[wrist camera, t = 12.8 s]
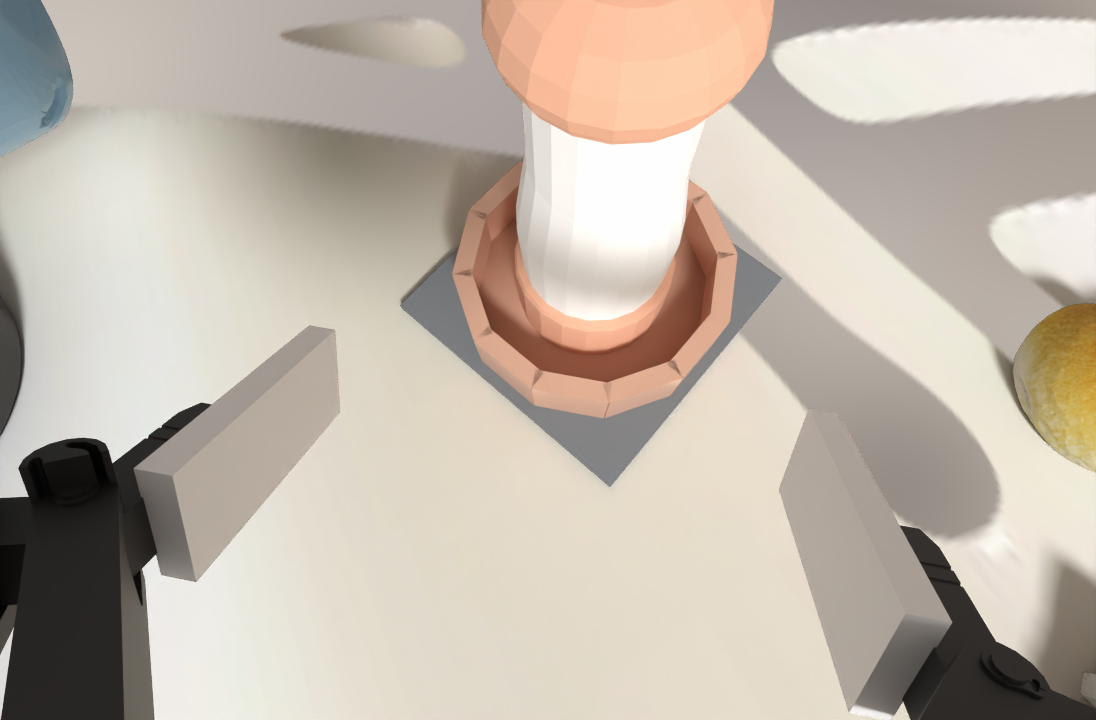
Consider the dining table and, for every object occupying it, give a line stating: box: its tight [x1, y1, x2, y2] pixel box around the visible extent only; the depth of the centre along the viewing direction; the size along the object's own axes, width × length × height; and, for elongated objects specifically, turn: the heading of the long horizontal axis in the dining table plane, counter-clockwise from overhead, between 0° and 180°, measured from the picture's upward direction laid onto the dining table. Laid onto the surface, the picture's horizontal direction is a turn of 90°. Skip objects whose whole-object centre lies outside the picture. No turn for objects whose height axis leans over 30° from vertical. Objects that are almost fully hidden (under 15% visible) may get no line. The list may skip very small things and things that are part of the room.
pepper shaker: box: [482, 0, 774, 355], centre depth 21 cm, size 7×7×19 cm
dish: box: [452, 161, 738, 418], centre depth 30 cm, size 13×13×3 cm
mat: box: [400, 244, 782, 487], centre depth 31 cm, size 14×14×1 cm
